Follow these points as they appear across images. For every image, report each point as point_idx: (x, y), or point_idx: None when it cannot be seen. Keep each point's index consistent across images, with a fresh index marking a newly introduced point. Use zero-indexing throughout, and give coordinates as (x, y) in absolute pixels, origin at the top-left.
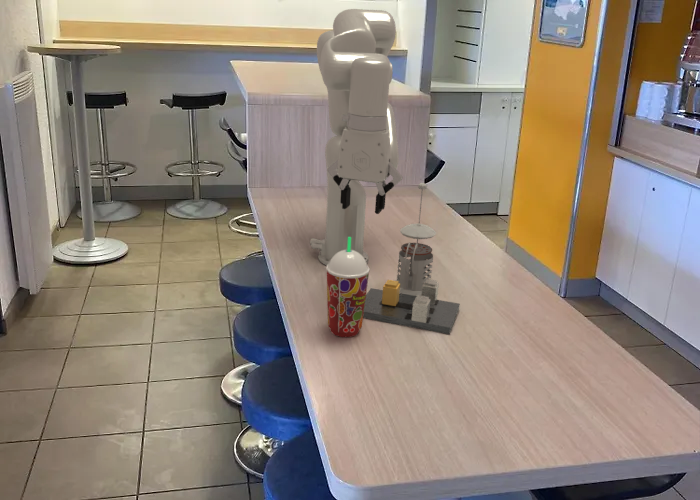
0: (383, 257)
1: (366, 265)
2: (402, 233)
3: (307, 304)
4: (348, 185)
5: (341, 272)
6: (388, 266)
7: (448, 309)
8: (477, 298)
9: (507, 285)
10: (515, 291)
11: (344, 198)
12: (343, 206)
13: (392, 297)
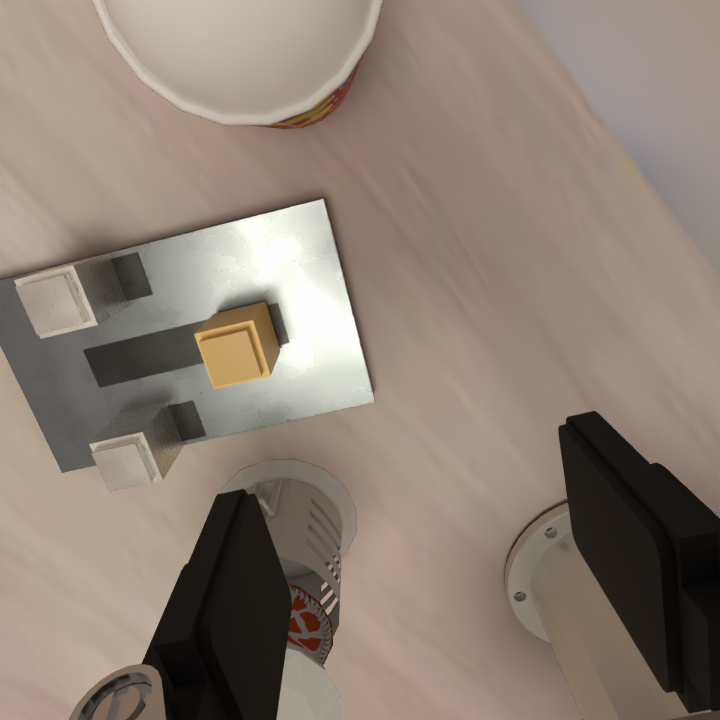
0: (482, 653)
1: (104, 2)
2: (297, 650)
3: (527, 174)
4: (716, 698)
5: None
6: (433, 607)
7: (63, 411)
8: (78, 564)
9: (62, 686)
10: (21, 665)
11: (627, 470)
12: (590, 422)
13: (219, 319)
